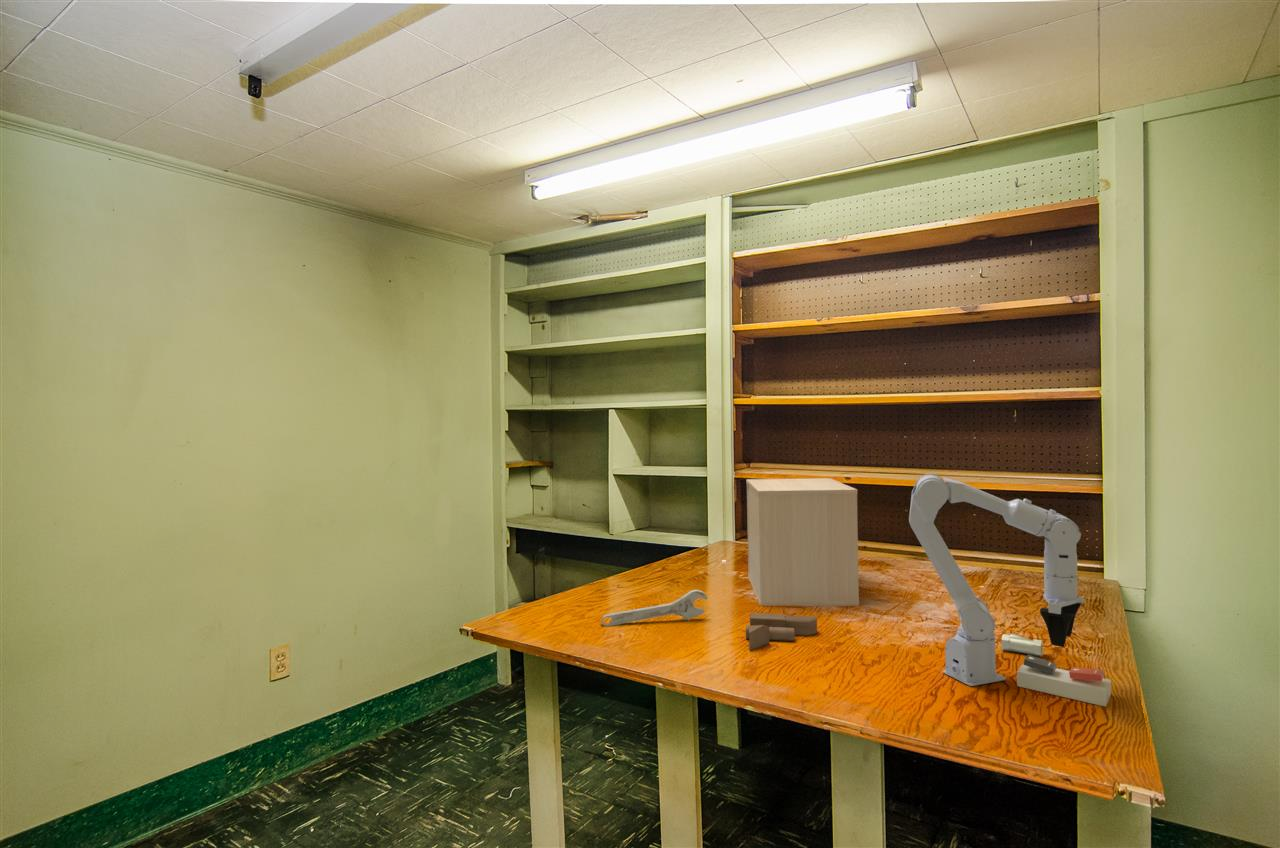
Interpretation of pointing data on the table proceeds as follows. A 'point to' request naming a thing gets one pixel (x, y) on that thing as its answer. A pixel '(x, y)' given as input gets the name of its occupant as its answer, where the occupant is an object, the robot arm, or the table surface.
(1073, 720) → the table surface
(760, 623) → the wooden block set
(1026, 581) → the table surface
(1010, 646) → the pipe fitting
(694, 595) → the wrench
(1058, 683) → the rocker switch panel
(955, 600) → the robot arm
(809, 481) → the beige wooden block
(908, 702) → the table surface
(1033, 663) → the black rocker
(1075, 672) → the red rocker
